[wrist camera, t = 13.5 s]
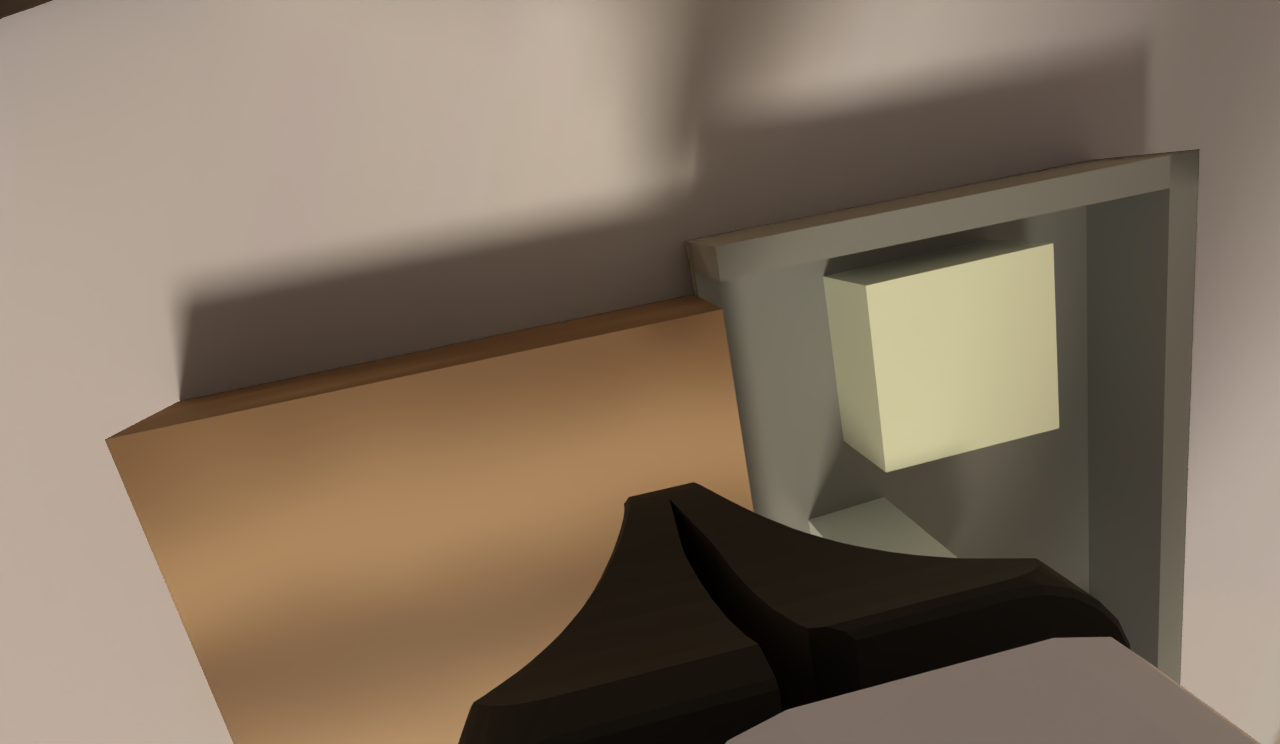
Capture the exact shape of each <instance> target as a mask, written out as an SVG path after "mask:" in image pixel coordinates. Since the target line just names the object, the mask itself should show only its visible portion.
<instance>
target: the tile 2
mask: <svg viewBox="0 0 1280 744" xmlns="http://www.w3.org/2000/svg"><path fill="white" fill-rule="evenodd" d="M823 280H824V289H825V297H826V305H827V313H828V321H829V329H830V337H831V345H832V353H833V361H834V369H835V377H836V385H837V393H838V401H839V409H840V417H841V425H842V433H843V441H844V442H846V443H847V444H848V445H850V446H851V447H852V448H854V449H855V450H856V451H858V452H859V453H860V454H862V455H863V456H865V457H866V458H867V459H869V460H870V461H871V462H873V463H874V464H875V465H877V466H878V467H879V468H881V469H882V470H883V471H885V472H890V471H894V470H898V469H902V468H906V467H910V466H913V465H917V464H921V463H925V462H929V461H933V460H937V459H941V458H945V457H949V456H952V455H956V454H960V453H964V452H968V451H972V450H976V449H980V448H984V447H988V446H991V445H995V444H999V443H1003V442H1007V441H1011V440H1015V439H1019V438H1023V437H1027V436H1031V435H1034V434H1038V433H1042V432H1046V431H1050V430H1054V429H1058V428H1059V402H1058V371H1057V341H1056V310H1055V279H1054V248H1053V243H1041V242H1023V241H1005V240H983V241H979V242H974V243H970V244H965V245H961V246H957V247H952V248H948V249H943V250H939V251H934V252H930V253H925V254H921V255H916V256H912V257H907V258H903V259H899V260H894V261H890V262H885V263H881V264H876V265H872V266H867V267H863V268H858V269H854V270H849V271H845V272H841V273H836V274H832V275H827V276H823Z"/></svg>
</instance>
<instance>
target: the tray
mask: <svg viewBox="0 0 1280 744" xmlns="http://www.w3.org/2000/svg"><path fill="white" fill-rule="evenodd" d="M1198 175H1199V149H1196V150H1186V151H1176V152H1166V153H1156V154H1146V155H1136V156H1126V157H1116V158H1106V159H1096V160H1090V161H1085V162H1080V163H1075V164H1070V165H1065V166H1060V167H1055V168H1050V169H1045V170H1040V171H1035V172H1030V173H1025V174H1020V175H1015V176H1010V177H1005V178H1000V179H995V180H990V181H985V182H980V183H975V184H970V185H965V186H960V187H955V188H950V189H945V190H940V191H935V192H930V193H925V194H920V195H915V196H910V197H905V198H900V199H895V200H890V201H885V202H880V203H875V204H870V205H865V206H860V207H855V208H850V209H845V210H840V211H835V212H830V213H825V214H820V215H815V216H810V217H805V218H800V219H795V220H790V221H785V222H780V223H775V224H770V225H765V226H760V227H755V228H750V229H745V230H740V231H735V232H729V233H724V234H719V235H714V236H709V237H704V238H699V239H694V240H689V241H685V242H686V248H687V254H688V260H689V266H690V272H691V278H692V284H693V291H694V295H696V296H698V297H700V298H702V299H704V300H706V301H708V302H710V303H712V304H714V305H716V306H717V307H719V308H721V309H723V315H724V322H725V328H726V335H727V341H728V348H729V354H730V361H731V367H732V374H733V381H734V387H735V394H736V400H737V407H738V413H739V420H740V426H741V433H742V439H743V446H744V452H745V459H746V465H747V472H748V478H749V485H750V491H751V498H752V504H753V511H754V513H757V514H759V515H761V516H763V517H766V518H768V519H770V520H773V521H775V522H778V523H781V524H783V525H786V526H788V527H791V528H793V529H796V530H799V531H802V532H805V533H808V534H811V533H810V527H809V522H808V520H810V519H813V518H816V517H820V516H823V515H826V514H830V513H833V512H836V511H840V510H843V509H846V508H850V507H853V506H856V505H860V504H863V503H866V502H869V501H873V500H876V499H879V498H883V497H885V498H886V499H887V500H888V501H889V502H891V503H892V504H893V505H894V506H895V507H897V508H898V509H899V510H900V511H902V512H903V513H904V514H905V515H906V516H908V517H909V518H910V519H911V520H912V521H914V522H915V523H916V524H917V525H919V526H920V527H921V528H922V529H923V530H925V531H926V532H927V533H928V534H930V535H931V536H932V537H933V538H934V539H936V540H937V541H938V542H939V543H940V544H942V545H943V546H944V547H945V548H947V549H948V550H949V551H950V552H951V553H953V554H954V555H955V556H956V557H958V558H1037V559H1038V560H1040V561H1041V562H1043V563H1044V564H1046V565H1047V566H1049V567H1050V568H1052V569H1053V570H1055V571H1056V572H1058V573H1059V574H1061V575H1062V576H1064V577H1065V578H1066V579H1068V580H1069V581H1071V582H1072V583H1074V584H1075V585H1077V586H1078V587H1080V588H1081V589H1082V590H1084V591H1085V592H1087V593H1088V594H1090V595H1091V596H1093V597H1094V598H1096V599H1097V600H1099V601H1100V602H1101V603H1102V604H1103V605H1104V606H1105V607H1106V608H1107V609H1108V610H1109V611H1110V612H1111V613H1112V614H1113V615H1114V616H1115V617H1116V618H1117V619H1118V620H1119V622H1120V625H1121V627H1122V629H1123V631H1124V633H1125V635H1126V637H1127V639H1128V641H1129V643H1130V649H1131V651H1133V652H1134V653H1136V654H1137V655H1139V656H1140V657H1142V658H1143V659H1145V660H1146V661H1148V662H1149V663H1151V664H1152V665H1153V666H1155V667H1156V668H1158V669H1159V670H1160V671H1162V672H1163V673H1164V674H1166V675H1167V676H1169V677H1170V678H1171V679H1173V680H1174V681H1175V682H1177V683H1178V684H1179V685H1180V675H1181V648H1182V620H1183V592H1184V564H1185V537H1186V509H1187V481H1188V453H1189V425H1190V398H1191V370H1192V342H1193V314H1194V286H1195V259H1196V231H1197V203H1198ZM983 240H1005V241H1023V242H1041V243H1053V248H1054V279H1055V310H1056V341H1057V371H1058V402H1059V428H1058V429H1054V430H1050V431H1046V432H1042V433H1038V434H1034V435H1031V436H1027V437H1023V438H1019V439H1015V440H1011V441H1007V442H1003V443H999V444H995V445H991V446H988V447H984V448H980V449H976V450H972V451H968V452H964V453H960V454H956V455H952V456H949V457H945V458H941V459H937V460H933V461H929V462H925V463H921V464H917V465H913V466H910V467H906V468H902V469H898V470H894V471H890V472H885V471H883V470H882V469H881V468H879V467H878V466H877V465H875V464H874V463H873V462H871V461H870V460H869V459H867V458H866V457H865V456H863V455H862V454H860V453H859V452H858V451H856V450H855V449H854V448H852V447H851V446H850V445H848V444H847V443H846V442H844V441H843V433H842V425H841V417H840V409H839V401H838V393H837V385H836V377H835V369H834V361H833V353H832V345H831V337H830V329H829V321H828V313H827V305H826V297H825V289H824V280H823V276H827V275H832V274H836V273H841V272H845V271H849V270H854V269H858V268H863V267H867V266H872V265H876V264H881V263H885V262H890V261H894V260H899V259H903V258H907V257H912V256H916V255H921V254H925V253H930V252H934V251H939V250H943V249H948V248H952V247H957V246H961V245H965V244H970V243H974V242H979V241H983Z"/></svg>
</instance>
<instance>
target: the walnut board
mask: <svg viewBox="0 0 1280 744" xmlns="http://www.w3.org/2000/svg"><path fill="white" fill-rule="evenodd" d="M105 441H106V443H107V446H108V448H109V450H110V453H111V455H112V457H113V460H114V462H115V465H116V467H117V469H118V472H119V474H120V476H121V479H122V481H123V483H124V486H125V488H126V490H127V493H128V495H129V498H130V500H131V502H132V505H133V507H134V509H135V512H136V514H137V516H138V519H139V521H140V524H141V526H142V528H143V531H144V533H145V535H146V538H147V540H148V542H149V545H150V547H151V549H152V552H153V554H154V557H155V559H156V561H157V564H158V566H159V568H160V571H161V573H162V575H163V578H164V580H165V583H166V585H167V587H168V590H169V592H170V594H171V597H172V599H173V601H174V604H175V606H176V608H177V611H178V613H179V616H180V618H181V620H182V623H183V625H184V627H185V630H186V632H187V634H188V637H189V639H190V642H191V644H192V646H193V649H194V651H195V653H196V656H197V658H198V660H199V663H200V665H201V667H202V670H203V672H204V675H205V677H206V679H207V682H208V684H209V686H210V689H211V691H212V693H213V696H214V698H215V701H216V703H217V705H218V708H219V710H220V712H221V715H222V717H223V719H224V722H225V724H226V726H227V729H228V731H229V734H230V736H231V738H232V741H233V743H234V744H458V742H459V739H460V737H461V734H462V731H463V728H464V725H465V722H466V719H467V716H468V713H469V710H470V708H471V706H472V704H473V702H475V701H476V700H478V699H479V698H481V697H483V696H484V695H486V694H487V693H488V692H490V691H491V690H493V689H494V688H495V687H497V686H498V685H500V684H501V683H503V682H504V681H505V680H507V679H508V678H510V677H511V676H512V675H514V674H515V673H517V672H518V671H519V670H521V669H522V668H523V667H524V666H526V665H527V664H528V663H529V662H530V661H532V660H533V659H534V658H535V657H536V656H537V655H538V654H540V653H541V652H542V651H543V650H544V649H545V648H546V647H547V646H548V645H549V644H550V643H551V642H552V641H554V640H555V639H556V638H557V637H558V636H559V635H560V634H561V632H562V631H563V630H564V629H565V628H566V627H567V626H568V624H569V623H570V622H571V621H572V620H573V618H574V617H575V616H576V615H577V614H578V612H579V611H580V610H581V609H582V607H583V606H584V604H585V603H586V601H587V600H588V598H589V597H590V595H591V594H592V592H593V590H594V589H595V587H596V585H597V583H598V582H599V580H600V578H601V576H602V574H603V572H604V570H605V568H606V566H607V563H608V561H609V559H610V557H611V555H612V552H613V550H614V547H615V544H616V541H617V538H618V535H619V532H620V529H621V525H622V521H623V517H624V503H625V502H626V500H627V499H628V497H631V496H635V495H640V494H644V493H648V492H653V491H657V490H662V489H666V488H670V487H675V486H679V485H683V484H688V483H692V482H695V483H697V484H700V485H702V486H704V487H705V488H707V489H709V490H711V491H713V492H715V493H717V494H719V495H720V496H722V497H724V498H726V499H728V500H730V501H732V502H734V503H736V504H738V505H740V506H742V507H744V508H746V509H748V510H750V511H752V512H754V511H753V504H752V498H751V491H750V485H749V478H748V472H747V465H746V459H745V452H744V446H743V439H742V433H741V426H740V420H739V413H738V407H737V400H736V394H735V387H734V381H733V374H732V367H731V361H730V354H729V348H728V341H727V335H726V328H725V322H724V315H723V309H721V308H719V307H717V306H716V305H714V304H712V303H710V302H708V301H706V300H704V299H702V298H700V297H698V296H696V295H689V296H684V297H679V298H675V299H670V300H665V301H660V302H655V303H650V304H646V305H641V306H636V307H631V308H626V309H622V310H617V311H612V312H607V313H602V314H598V315H593V316H588V317H583V318H578V319H574V320H569V321H564V322H559V323H554V324H550V325H545V326H540V327H535V328H530V329H526V330H521V331H516V332H511V333H506V334H502V335H497V336H492V337H487V338H482V339H477V340H473V341H468V342H463V343H458V344H453V345H449V346H444V347H439V348H434V349H429V350H425V351H420V352H415V353H410V354H405V355H401V356H396V357H391V358H386V359H381V360H377V361H372V362H367V363H362V364H357V365H353V366H348V367H343V368H338V369H333V370H329V371H324V372H319V373H314V374H309V375H304V376H300V377H295V378H290V379H285V380H280V381H276V382H271V383H266V384H261V385H256V386H252V387H247V388H242V389H237V390H232V391H228V392H223V393H218V394H213V395H208V396H204V397H199V398H194V399H189V400H184V401H180V402H177V403H175V404H173V405H171V406H169V407H167V408H165V409H163V410H161V411H159V412H158V413H156V414H154V415H152V416H150V417H148V418H146V419H144V420H142V421H140V422H138V423H136V424H134V425H132V426H130V427H128V428H127V429H125V430H123V431H121V432H119V433H117V434H115V435H113V436H111V437H109V438H107V439H105Z"/></svg>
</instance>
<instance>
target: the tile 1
mask: <svg viewBox="0 0 1280 744" xmlns="http://www.w3.org/2000/svg"><path fill="white" fill-rule="evenodd" d="M808 522H809V527H810V533H811V534H812V535H816V536H819V537H823V538H826V539H830V540H833V541H837V542H841V543H846V544H850V545H855V546H860V547H865V548H871V549H877V550H883V551H888V552H895V553H904V554H912V555H922V556H935V557H949V558H958V557H956V556H955V555H954V554H953V553H951V552H950V551H949V550H948V549H947V548H945V547H944V546H943V545H942V544H940V543H939V542H938V541H937V540H936V539H934V538H933V537H932V536H931V535H930V534H928V533H927V532H926V531H925V530H923V529H922V528H921V527H920V526H919V525H917V524H916V523H915V522H914V521H912V520H911V519H910V518H909V517H908V516H906V515H905V514H904V513H903V512H902V511H900V510H899V509H898V508H897V507H895V506H894V505H893V504H892V503H891V502H889V501H888V500H887V499H886V498H885V497H883V498H879V499H876V500H873V501H869V502H866V503H863V504H860V505H856V506H853V507H850V508H846V509H843V510H840V511H836V512H833V513H830V514H826V515H823V516H820V517H816V518H813V519H810V520H808Z"/></svg>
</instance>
